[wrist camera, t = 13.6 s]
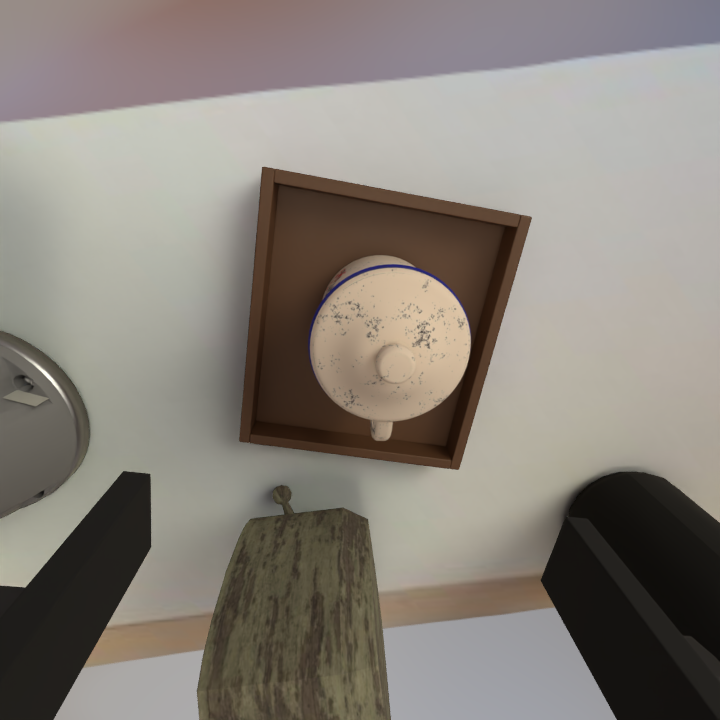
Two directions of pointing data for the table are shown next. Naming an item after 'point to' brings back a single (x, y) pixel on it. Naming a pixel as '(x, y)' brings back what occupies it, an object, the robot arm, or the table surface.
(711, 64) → the table surface
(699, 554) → the coffee jar
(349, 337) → the teacup with lid
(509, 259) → the tray
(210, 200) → the table surface
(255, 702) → the green bell
